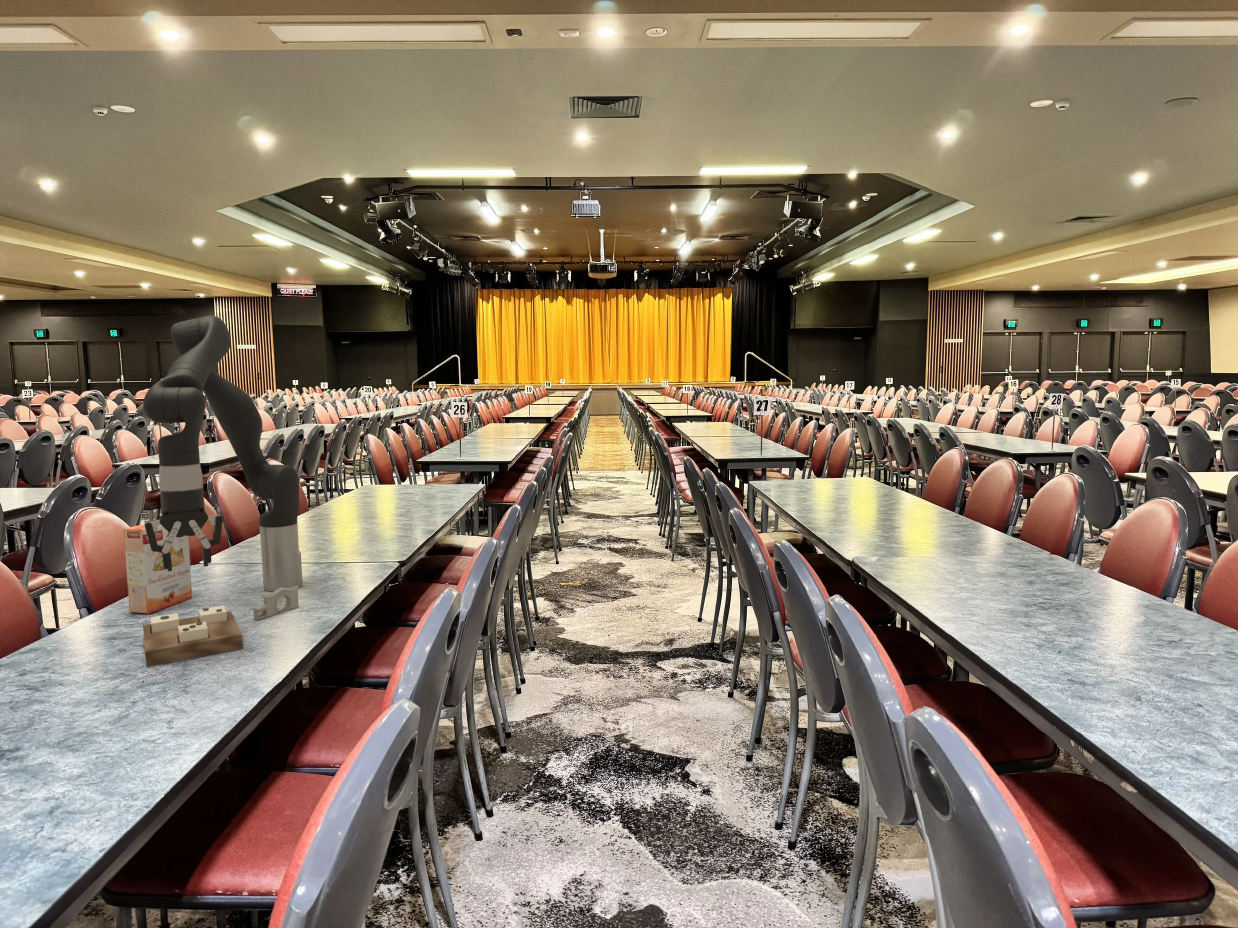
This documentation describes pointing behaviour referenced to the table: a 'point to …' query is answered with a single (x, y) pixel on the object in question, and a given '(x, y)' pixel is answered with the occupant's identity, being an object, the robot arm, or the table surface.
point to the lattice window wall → (272, 599)
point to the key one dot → (165, 623)
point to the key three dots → (192, 632)
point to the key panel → (169, 649)
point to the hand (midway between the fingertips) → (187, 567)
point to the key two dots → (213, 615)
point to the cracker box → (155, 571)
